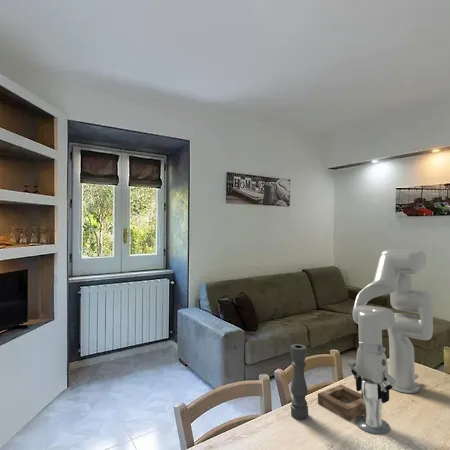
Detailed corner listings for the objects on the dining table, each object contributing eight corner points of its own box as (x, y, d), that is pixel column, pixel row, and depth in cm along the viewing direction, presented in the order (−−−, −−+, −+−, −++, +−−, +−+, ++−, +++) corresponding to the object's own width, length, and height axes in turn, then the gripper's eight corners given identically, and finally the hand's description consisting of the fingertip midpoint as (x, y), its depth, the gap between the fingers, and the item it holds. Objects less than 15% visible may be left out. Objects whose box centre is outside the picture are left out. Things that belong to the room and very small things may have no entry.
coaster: (367, 412, 119) (367, 411, 119) (396, 427, 110) (396, 426, 110) (348, 422, 113) (348, 421, 113) (377, 438, 104) (377, 437, 104)
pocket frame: (341, 394, 133) (341, 384, 133) (372, 409, 121) (371, 398, 121) (317, 403, 126) (317, 393, 126) (348, 421, 114) (348, 409, 114)
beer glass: (386, 430, 107) (385, 385, 108) (364, 428, 109) (363, 383, 109) (380, 419, 114) (379, 376, 115) (360, 417, 116) (359, 375, 116)
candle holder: (308, 412, 120) (307, 344, 121) (307, 421, 114) (306, 350, 115) (292, 409, 122) (291, 343, 123) (289, 418, 116) (288, 348, 117)
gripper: (400, 351, 107) (402, 403, 107) (355, 338, 122) (357, 383, 122) (387, 357, 103) (389, 410, 103) (342, 342, 118) (344, 388, 118)
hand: (372, 395), depth 112 cm, fingers open, 9 cm apart
